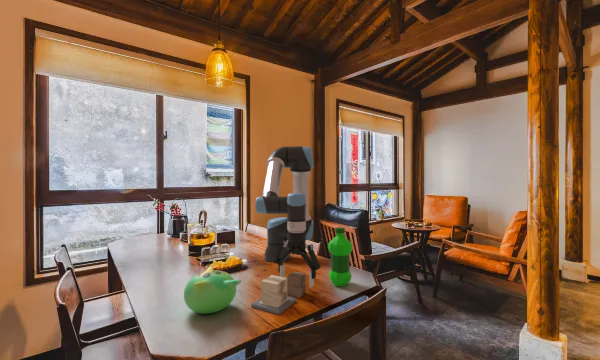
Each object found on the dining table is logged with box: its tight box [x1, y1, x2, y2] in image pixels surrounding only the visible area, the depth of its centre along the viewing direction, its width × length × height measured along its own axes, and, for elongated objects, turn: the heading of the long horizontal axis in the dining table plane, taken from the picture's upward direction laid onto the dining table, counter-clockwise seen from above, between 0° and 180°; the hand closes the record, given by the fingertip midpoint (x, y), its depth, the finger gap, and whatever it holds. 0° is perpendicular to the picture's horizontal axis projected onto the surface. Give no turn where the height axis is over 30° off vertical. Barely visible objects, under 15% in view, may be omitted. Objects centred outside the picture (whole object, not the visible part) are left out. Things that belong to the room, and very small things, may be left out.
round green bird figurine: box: [183, 266, 242, 315], centre depth 103 cm, size 18×17×15 cm
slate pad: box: [251, 295, 297, 315], centre depth 108 cm, size 12×12×1 cm
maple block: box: [260, 274, 288, 306], centre depth 108 cm, size 7×7×8 cm
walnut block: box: [286, 271, 307, 299], centre depth 117 cm, size 6×6×8 cm
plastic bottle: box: [327, 226, 353, 287], centre depth 127 cm, size 10×10×25 cm
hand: (296, 283), depth 116 cm, fingers open, 13 cm apart
